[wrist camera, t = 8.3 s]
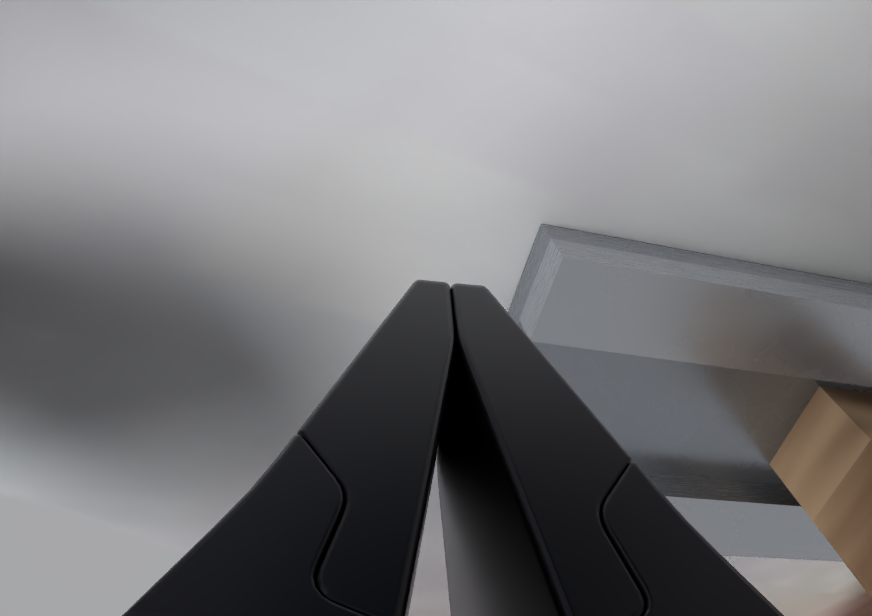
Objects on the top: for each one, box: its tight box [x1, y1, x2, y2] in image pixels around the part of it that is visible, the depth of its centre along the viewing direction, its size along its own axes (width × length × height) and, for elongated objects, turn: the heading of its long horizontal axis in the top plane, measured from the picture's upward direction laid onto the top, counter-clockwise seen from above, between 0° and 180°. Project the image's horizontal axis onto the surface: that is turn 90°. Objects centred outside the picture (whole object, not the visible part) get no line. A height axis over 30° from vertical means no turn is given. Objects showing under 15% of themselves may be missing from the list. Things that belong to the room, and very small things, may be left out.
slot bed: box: [439, 224, 872, 561], centre depth 29 cm, size 18×12×2 cm, turn 74°
